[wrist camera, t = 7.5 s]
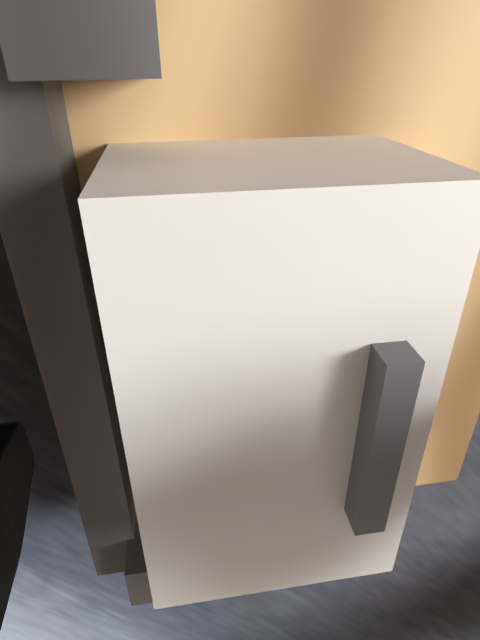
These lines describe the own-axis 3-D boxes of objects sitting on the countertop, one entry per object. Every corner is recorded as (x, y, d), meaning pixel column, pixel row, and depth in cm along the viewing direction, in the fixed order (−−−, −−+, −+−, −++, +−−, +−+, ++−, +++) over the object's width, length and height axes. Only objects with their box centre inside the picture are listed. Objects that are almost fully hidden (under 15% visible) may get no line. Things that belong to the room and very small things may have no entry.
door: (377, 134, 10) (529, 190, 6) (335, 445, 14) (403, 596, 10) (108, 143, 9) (69, 213, 5) (155, 468, 13) (154, 639, 10)
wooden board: (547, -6, 11) (769, -40, 7) (428, 438, 18) (503, 545, 14) (0, -9, 9) (-116, -57, 5) (108, 478, 16) (93, 611, 12)
